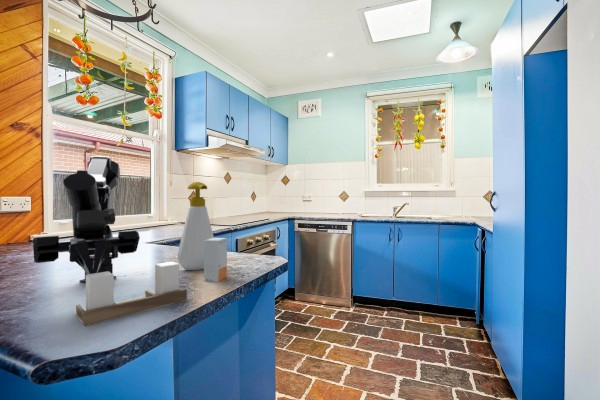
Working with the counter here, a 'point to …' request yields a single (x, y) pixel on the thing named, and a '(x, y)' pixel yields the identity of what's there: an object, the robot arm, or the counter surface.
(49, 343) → the counter surface
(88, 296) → the white tall block
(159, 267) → the white rectangular block
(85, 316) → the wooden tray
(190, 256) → the soap bottle
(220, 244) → the skincare box
